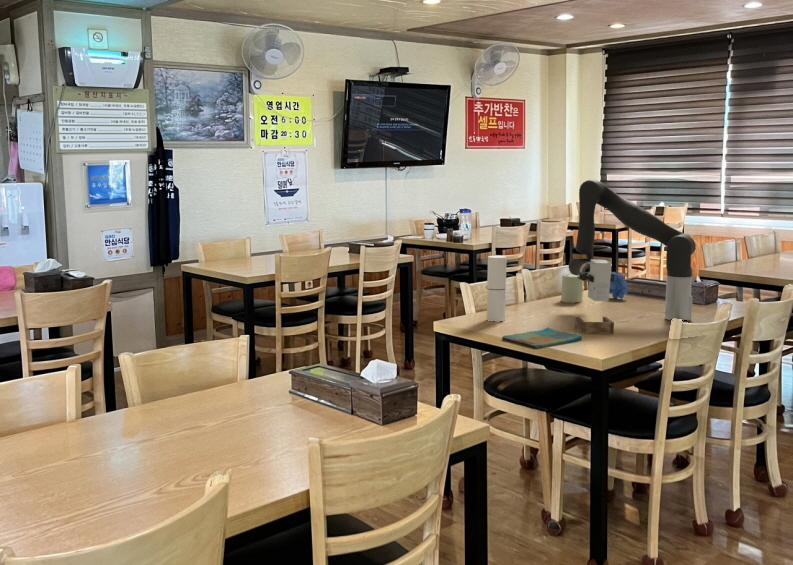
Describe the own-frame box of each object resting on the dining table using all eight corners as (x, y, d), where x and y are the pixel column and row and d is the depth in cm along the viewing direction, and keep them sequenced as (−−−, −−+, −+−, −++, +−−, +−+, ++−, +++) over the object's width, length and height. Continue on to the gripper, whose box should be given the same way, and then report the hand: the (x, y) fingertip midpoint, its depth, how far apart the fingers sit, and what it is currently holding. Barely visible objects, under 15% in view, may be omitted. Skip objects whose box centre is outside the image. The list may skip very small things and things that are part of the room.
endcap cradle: (605, 327, 298) (606, 316, 297) (613, 333, 287) (614, 322, 286) (575, 327, 298) (575, 316, 297) (581, 333, 287) (582, 322, 286)
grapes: (599, 297, 362) (600, 271, 360) (607, 296, 367) (608, 270, 365) (621, 301, 354) (623, 274, 352) (629, 299, 358) (631, 273, 356)
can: (557, 299, 356) (558, 273, 354) (575, 298, 359) (576, 272, 357) (567, 303, 348) (568, 276, 346) (586, 302, 350) (587, 275, 348)
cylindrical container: (490, 322, 306) (492, 258, 302) (483, 319, 312) (485, 255, 309) (507, 321, 307) (509, 257, 304) (500, 318, 314) (502, 255, 310)
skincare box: (587, 297, 307) (589, 259, 304) (602, 297, 307) (604, 258, 305) (594, 301, 298) (596, 262, 296) (610, 301, 299) (612, 262, 296)
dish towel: (583, 341, 276) (584, 334, 276) (536, 351, 263) (536, 343, 262) (547, 333, 290) (547, 326, 290) (500, 341, 276) (500, 334, 276)
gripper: (573, 263, 315) (582, 269, 298) (609, 263, 315) (621, 269, 298) (572, 281, 316) (581, 289, 300) (608, 282, 316) (620, 289, 299)
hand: (601, 279), depth 299 cm, fingers closed on skincare box, 6 cm apart
